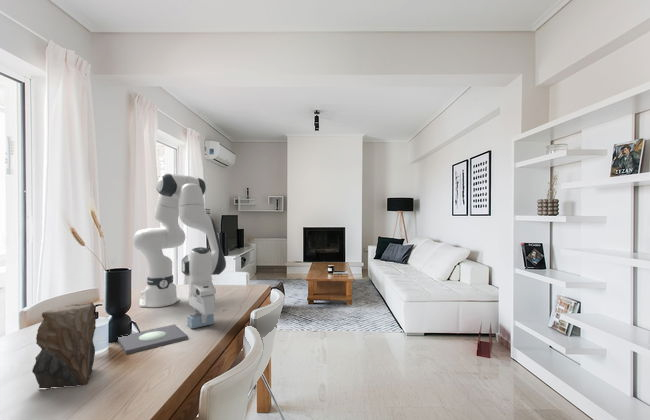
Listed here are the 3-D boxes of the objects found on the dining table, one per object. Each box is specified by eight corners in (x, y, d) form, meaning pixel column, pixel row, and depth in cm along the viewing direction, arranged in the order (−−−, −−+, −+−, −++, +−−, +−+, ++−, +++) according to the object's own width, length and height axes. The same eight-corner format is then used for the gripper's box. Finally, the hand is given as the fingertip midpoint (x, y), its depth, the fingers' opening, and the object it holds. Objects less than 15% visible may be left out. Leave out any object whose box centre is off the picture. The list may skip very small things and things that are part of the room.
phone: (187, 325, 135) (187, 315, 135) (209, 320, 141) (209, 310, 141) (191, 328, 131) (191, 318, 131) (213, 323, 137) (213, 313, 137)
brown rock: (30, 392, 86) (30, 316, 86) (56, 369, 98) (56, 302, 98) (85, 385, 89) (85, 312, 89) (104, 364, 101) (104, 300, 101)
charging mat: (117, 339, 121) (117, 336, 121) (174, 327, 134) (174, 323, 134) (125, 354, 109) (125, 350, 109) (187, 338, 122) (187, 335, 122)
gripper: (184, 283, 142) (184, 315, 142) (202, 293, 126) (201, 329, 126) (199, 281, 146) (199, 312, 146) (217, 290, 130) (217, 325, 130)
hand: (200, 320), depth 136 cm, fingers closed on phone, 5 cm apart
